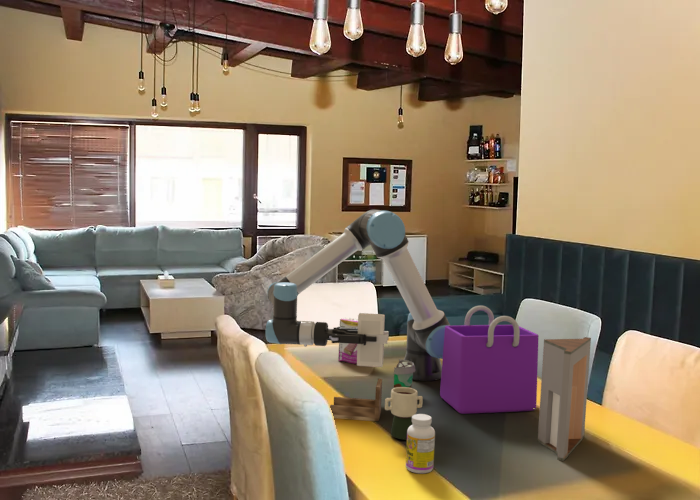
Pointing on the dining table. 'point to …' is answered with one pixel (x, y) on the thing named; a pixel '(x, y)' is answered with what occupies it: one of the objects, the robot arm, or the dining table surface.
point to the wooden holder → (358, 407)
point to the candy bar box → (346, 349)
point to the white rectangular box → (371, 351)
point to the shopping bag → (489, 366)
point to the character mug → (403, 409)
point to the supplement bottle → (420, 444)
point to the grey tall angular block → (563, 394)
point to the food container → (403, 373)
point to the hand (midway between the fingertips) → (387, 337)
